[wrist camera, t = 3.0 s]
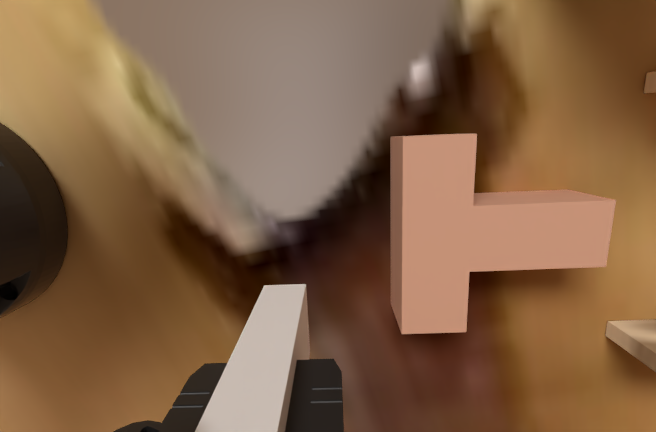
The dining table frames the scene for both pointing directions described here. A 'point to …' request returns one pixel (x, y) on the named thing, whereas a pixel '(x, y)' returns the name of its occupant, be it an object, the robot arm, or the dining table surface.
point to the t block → (475, 230)
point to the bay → (637, 335)
